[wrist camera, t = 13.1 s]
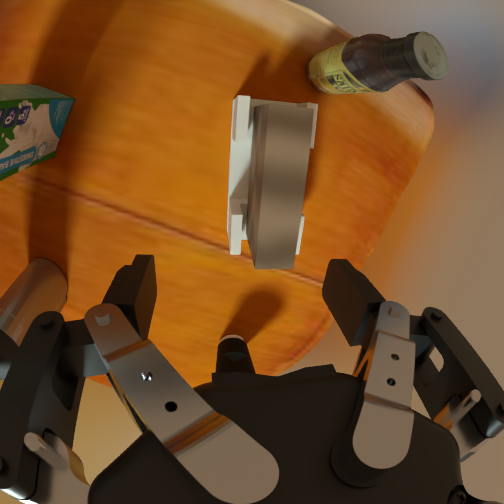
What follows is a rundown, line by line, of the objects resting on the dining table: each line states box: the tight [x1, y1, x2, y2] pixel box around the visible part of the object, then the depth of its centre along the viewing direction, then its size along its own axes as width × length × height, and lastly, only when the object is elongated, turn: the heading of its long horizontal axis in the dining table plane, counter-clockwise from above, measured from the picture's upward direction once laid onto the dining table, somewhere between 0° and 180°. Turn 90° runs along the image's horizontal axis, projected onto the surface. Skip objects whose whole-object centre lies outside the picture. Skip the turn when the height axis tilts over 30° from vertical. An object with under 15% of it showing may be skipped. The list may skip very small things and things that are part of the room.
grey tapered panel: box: [246, 103, 314, 269], centre depth 28 cm, size 16×4×9 cm, turn 176°
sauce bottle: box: [306, 32, 448, 94], centre depth 20 cm, size 6×6×20 cm
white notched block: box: [227, 95, 318, 254], centre depth 32 cm, size 18×9×7 cm, turn 176°
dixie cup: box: [216, 335, 256, 374], centre depth 44 cm, size 8×8×11 cm
